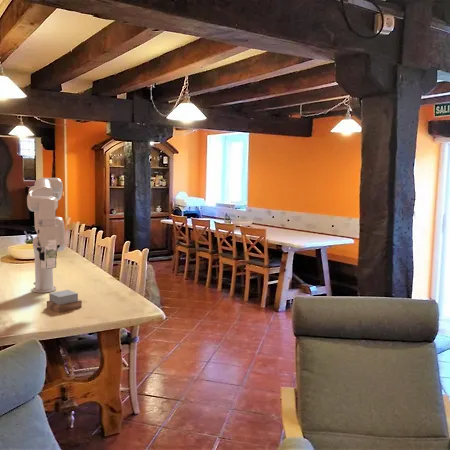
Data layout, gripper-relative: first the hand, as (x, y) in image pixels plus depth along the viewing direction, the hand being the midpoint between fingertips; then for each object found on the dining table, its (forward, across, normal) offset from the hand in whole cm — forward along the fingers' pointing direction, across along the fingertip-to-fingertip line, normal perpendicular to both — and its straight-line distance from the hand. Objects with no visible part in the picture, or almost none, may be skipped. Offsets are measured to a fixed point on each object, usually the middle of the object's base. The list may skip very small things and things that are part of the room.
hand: (48, 259), depth 231 cm
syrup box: (+5, 0, 0) cm, 5 cm away
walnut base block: (+26, +6, -4) cm, 27 cm away
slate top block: (+22, +6, -4) cm, 23 cm away
